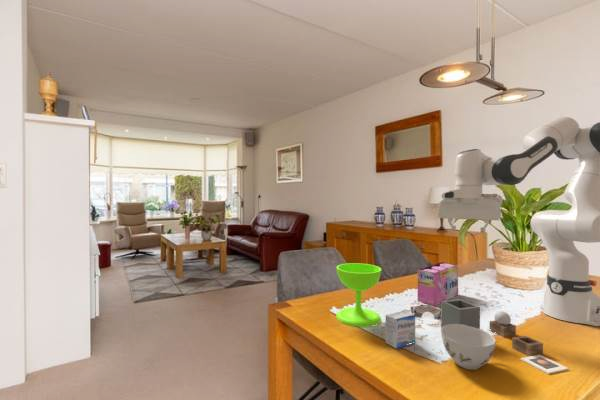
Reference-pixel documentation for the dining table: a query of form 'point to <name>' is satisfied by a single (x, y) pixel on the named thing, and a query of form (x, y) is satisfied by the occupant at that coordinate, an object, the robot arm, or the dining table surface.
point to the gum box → (437, 283)
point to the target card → (544, 364)
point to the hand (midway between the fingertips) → (467, 231)
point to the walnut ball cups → (518, 339)
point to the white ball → (502, 318)
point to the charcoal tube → (460, 313)
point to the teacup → (468, 345)
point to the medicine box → (400, 329)
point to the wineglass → (358, 293)
